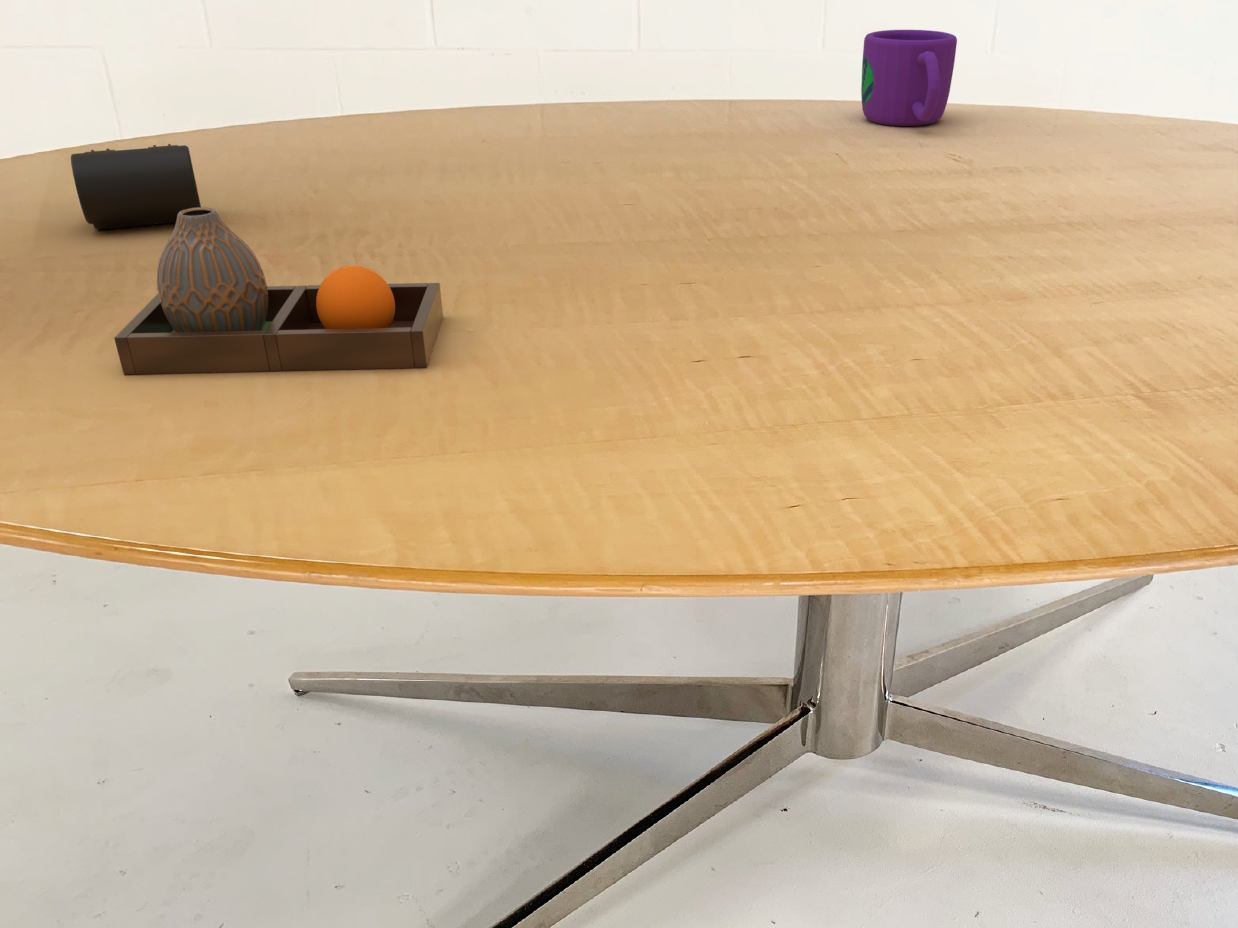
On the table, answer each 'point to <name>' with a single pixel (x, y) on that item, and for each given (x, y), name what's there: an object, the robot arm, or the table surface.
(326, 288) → the clementine
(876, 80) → the mug
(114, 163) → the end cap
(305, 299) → the tray
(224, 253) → the vase
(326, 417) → the table surface
